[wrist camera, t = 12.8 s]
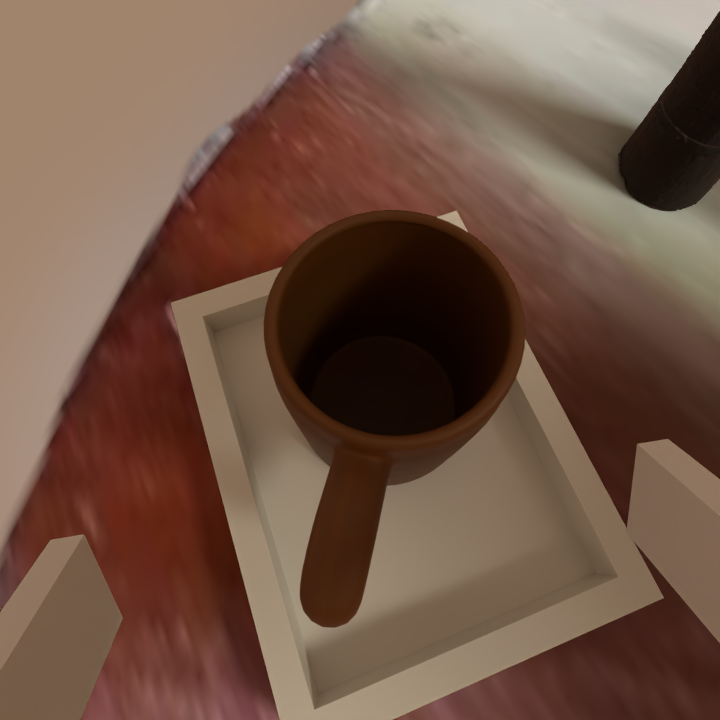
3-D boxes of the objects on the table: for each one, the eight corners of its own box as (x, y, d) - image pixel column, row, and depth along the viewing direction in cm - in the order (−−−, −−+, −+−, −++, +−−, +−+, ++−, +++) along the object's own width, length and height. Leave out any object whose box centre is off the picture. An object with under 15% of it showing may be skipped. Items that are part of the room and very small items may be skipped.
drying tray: (447, 243, 26) (456, 210, 24) (624, 589, 20) (664, 597, 18) (191, 327, 24) (170, 302, 22) (301, 732, 19) (291, 764, 16)
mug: (429, 620, 19) (487, 695, 10) (248, 571, 20) (153, 600, 11) (476, 347, 23) (547, 230, 14) (324, 314, 24) (300, 182, 15)
